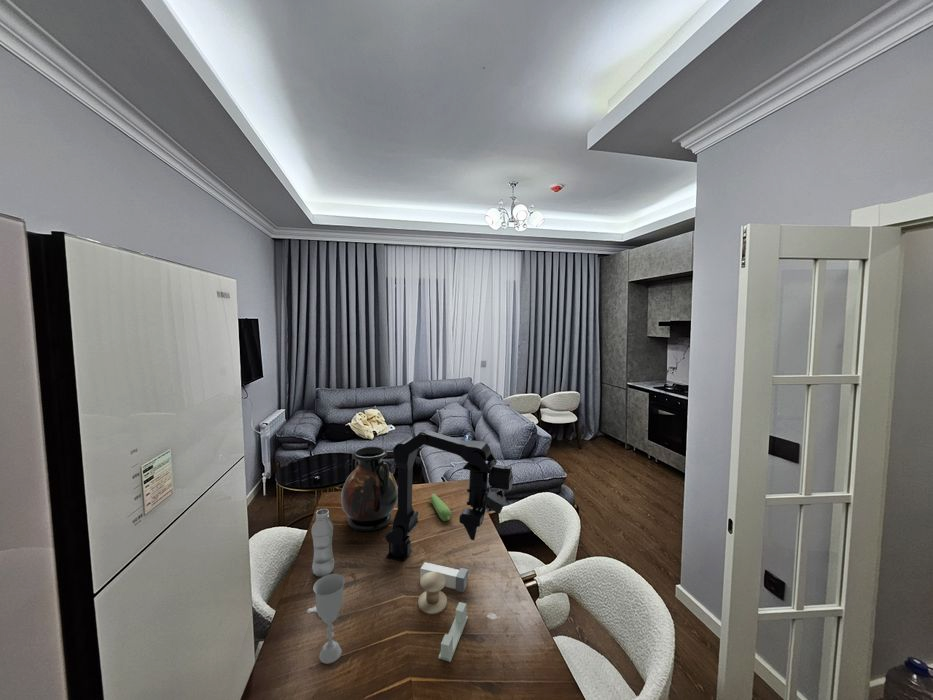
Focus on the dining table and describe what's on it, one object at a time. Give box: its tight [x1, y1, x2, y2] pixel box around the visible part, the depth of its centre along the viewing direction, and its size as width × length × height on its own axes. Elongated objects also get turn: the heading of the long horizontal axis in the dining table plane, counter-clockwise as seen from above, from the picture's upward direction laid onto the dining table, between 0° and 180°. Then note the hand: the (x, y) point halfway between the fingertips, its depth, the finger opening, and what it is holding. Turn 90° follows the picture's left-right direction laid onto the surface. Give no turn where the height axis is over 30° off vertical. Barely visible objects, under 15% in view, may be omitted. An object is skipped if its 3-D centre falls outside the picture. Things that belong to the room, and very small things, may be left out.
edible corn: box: [429, 493, 452, 522], centre depth 161 cm, size 5×20×5 cm
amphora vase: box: [340, 446, 398, 532], centre depth 151 cm, size 22×22×28 cm
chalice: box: [312, 573, 346, 664], centre depth 93 cm, size 7×7×18 cm
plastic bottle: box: [310, 508, 335, 578], centre depth 122 cm, size 6×7×20 cm
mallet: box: [419, 561, 469, 593], centre depth 119 cm, size 14×4×4 cm, turn 73°
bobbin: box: [417, 572, 448, 615], centre depth 111 cm, size 8×8×7 cm
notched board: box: [438, 601, 469, 663], centre depth 99 cm, size 3×14×4 cm, turn 163°
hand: (476, 531), depth 123 cm, fingers open, 9 cm apart
